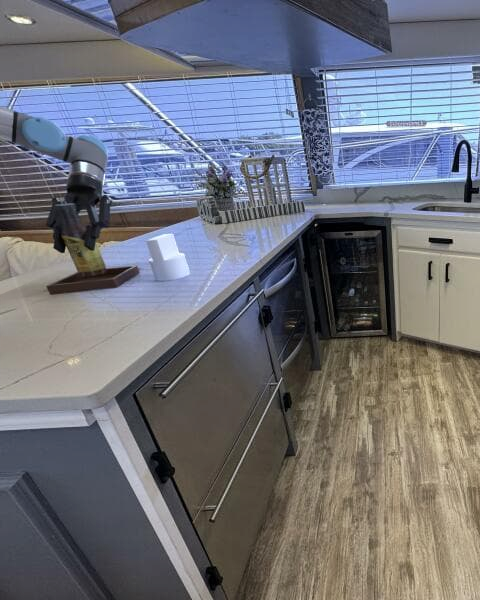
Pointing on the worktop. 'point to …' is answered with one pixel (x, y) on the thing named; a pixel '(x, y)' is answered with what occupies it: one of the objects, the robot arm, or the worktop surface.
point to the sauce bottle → (79, 242)
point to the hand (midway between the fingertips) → (74, 249)
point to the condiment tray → (93, 280)
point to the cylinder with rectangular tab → (166, 258)
